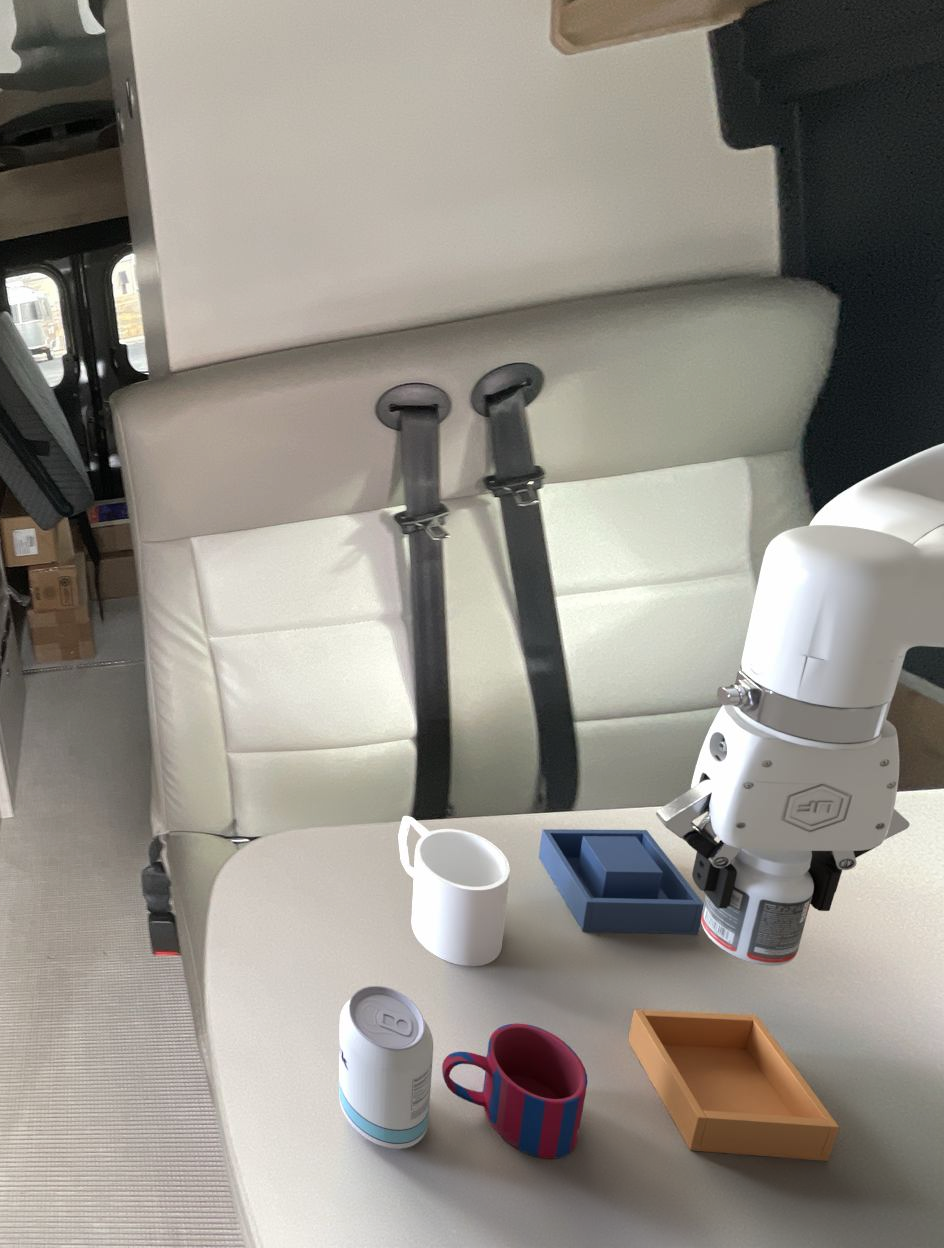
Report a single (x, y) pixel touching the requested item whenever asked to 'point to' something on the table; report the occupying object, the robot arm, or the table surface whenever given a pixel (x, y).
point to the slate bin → (663, 915)
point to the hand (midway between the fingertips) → (759, 893)
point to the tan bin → (731, 1085)
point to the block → (618, 868)
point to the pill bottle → (763, 907)
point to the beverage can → (385, 1067)
